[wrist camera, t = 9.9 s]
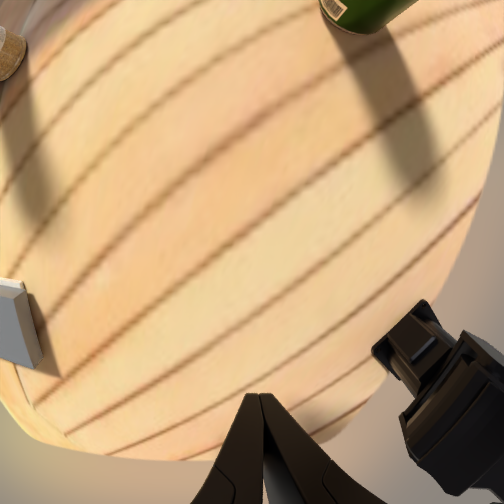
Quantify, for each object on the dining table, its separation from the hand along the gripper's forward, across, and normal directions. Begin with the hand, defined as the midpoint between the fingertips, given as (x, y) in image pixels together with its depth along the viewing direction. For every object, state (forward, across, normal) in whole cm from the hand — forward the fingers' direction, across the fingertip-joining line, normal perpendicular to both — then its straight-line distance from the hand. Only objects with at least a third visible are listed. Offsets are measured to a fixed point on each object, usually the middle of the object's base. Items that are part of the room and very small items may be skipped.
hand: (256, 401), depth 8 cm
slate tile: (+10, +18, +6) cm, 22 cm away
